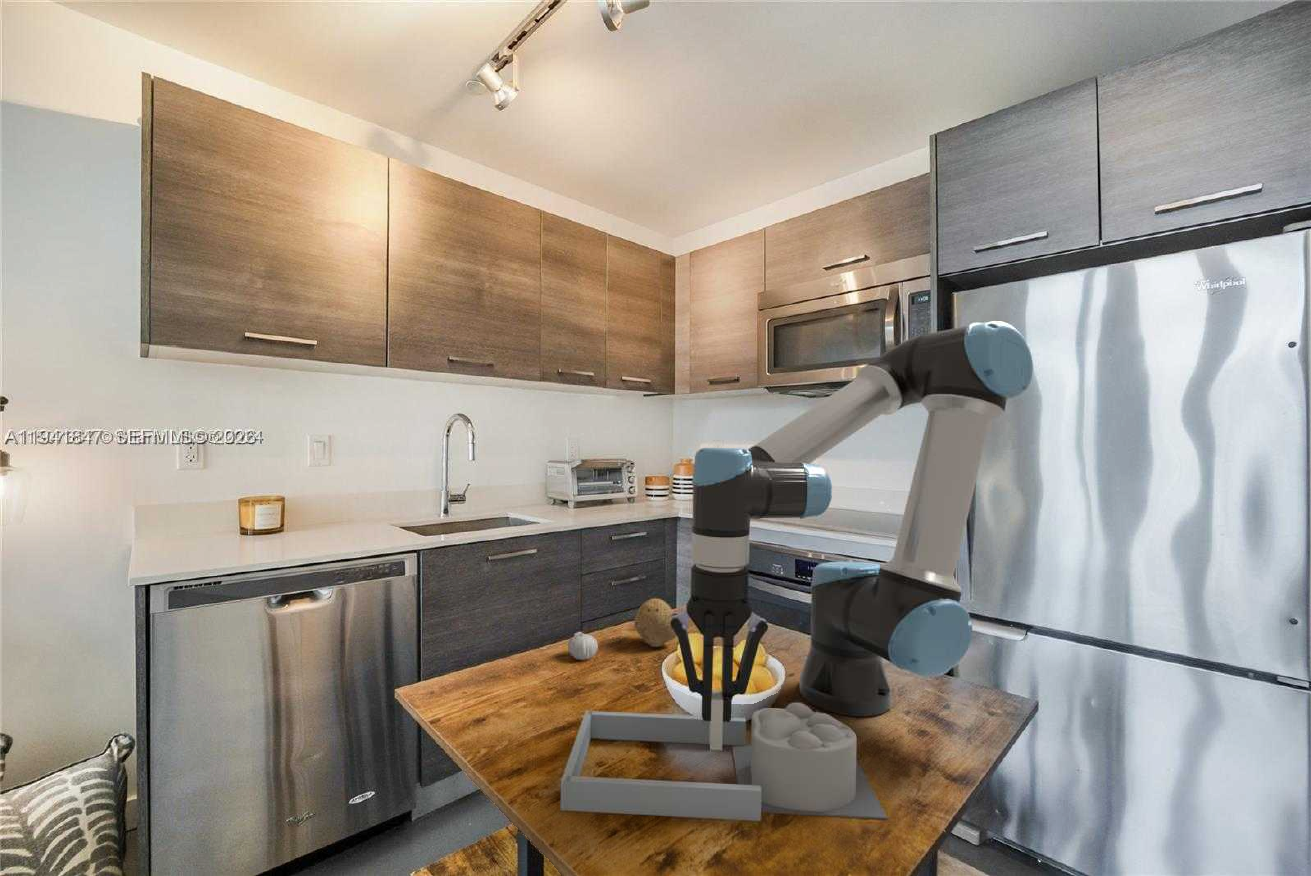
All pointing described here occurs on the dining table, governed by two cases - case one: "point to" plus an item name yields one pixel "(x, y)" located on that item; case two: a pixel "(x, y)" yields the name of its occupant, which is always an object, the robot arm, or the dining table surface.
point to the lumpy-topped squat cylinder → (802, 758)
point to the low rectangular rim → (655, 793)
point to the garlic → (582, 646)
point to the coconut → (655, 622)
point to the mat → (859, 807)
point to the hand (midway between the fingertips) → (715, 744)
